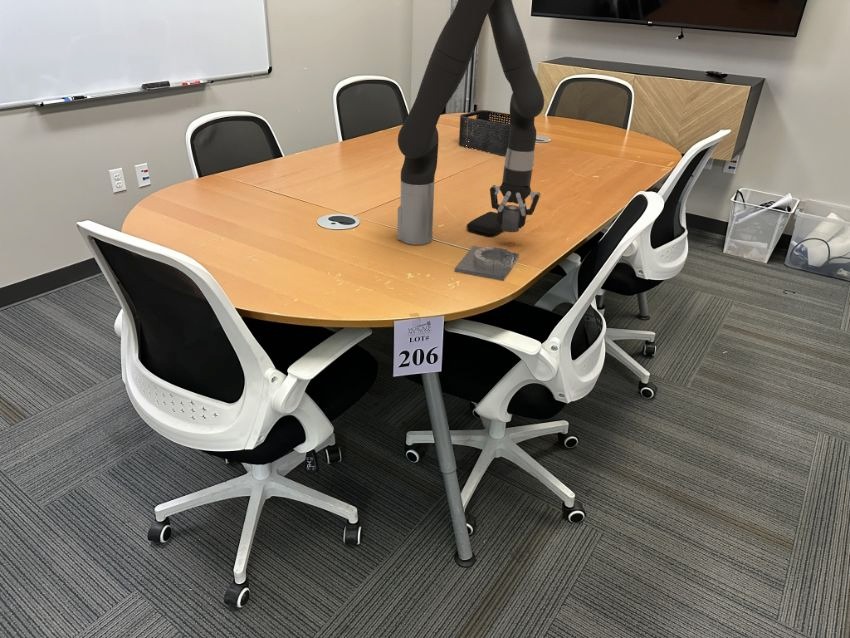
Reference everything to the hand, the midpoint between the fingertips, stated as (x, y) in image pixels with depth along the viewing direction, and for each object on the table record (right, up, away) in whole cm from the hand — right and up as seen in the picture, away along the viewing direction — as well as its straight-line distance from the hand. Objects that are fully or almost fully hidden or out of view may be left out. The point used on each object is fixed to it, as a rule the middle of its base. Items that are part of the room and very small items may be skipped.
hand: (510, 225), depth 171 cm
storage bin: (+7, +49, +99) cm, 110 cm away
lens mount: (-7, -12, -9) cm, 17 cm away
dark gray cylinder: (0, -1, 0) cm, 1 cm away
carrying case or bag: (-4, +1, +14) cm, 15 cm away
